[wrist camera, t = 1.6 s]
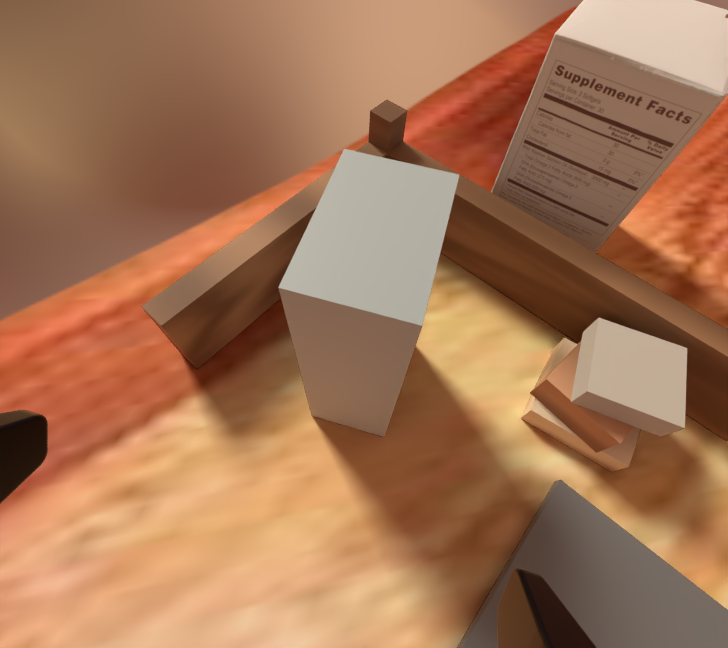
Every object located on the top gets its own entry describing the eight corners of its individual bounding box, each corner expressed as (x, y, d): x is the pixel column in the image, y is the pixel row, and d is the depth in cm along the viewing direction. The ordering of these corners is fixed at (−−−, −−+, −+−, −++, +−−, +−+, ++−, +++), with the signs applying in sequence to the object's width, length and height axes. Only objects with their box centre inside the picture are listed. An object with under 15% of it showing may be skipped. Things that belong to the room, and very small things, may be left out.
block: (384, 437, 21) (422, 325, 11) (311, 415, 21) (278, 287, 11) (409, 339, 24) (459, 174, 13) (345, 321, 24) (344, 148, 14)
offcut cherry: (596, 452, 20) (620, 443, 18) (529, 393, 21) (546, 379, 19) (649, 388, 21) (675, 374, 20) (584, 337, 23) (603, 319, 21)
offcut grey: (660, 436, 18) (684, 428, 17) (570, 402, 19) (587, 391, 17) (665, 361, 20) (687, 348, 19) (582, 332, 20) (598, 317, 19)
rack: (597, 760, 15) (763, 901, 9) (180, 352, 23) (120, 281, 17) (734, 419, 22) (882, 370, 16) (378, 192, 30) (386, 99, 24)
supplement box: (514, 174, 31) (605, -31, 20) (607, 216, 29) (764, 16, 18) (471, 232, 28) (551, 28, 17) (572, 284, 26) (735, 93, 15)
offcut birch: (605, 473, 21) (629, 466, 19) (516, 420, 22) (531, 409, 20) (631, 397, 23) (654, 384, 21) (549, 352, 24) (564, 337, 23)
